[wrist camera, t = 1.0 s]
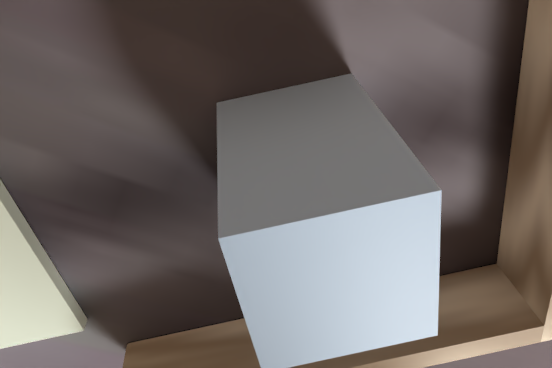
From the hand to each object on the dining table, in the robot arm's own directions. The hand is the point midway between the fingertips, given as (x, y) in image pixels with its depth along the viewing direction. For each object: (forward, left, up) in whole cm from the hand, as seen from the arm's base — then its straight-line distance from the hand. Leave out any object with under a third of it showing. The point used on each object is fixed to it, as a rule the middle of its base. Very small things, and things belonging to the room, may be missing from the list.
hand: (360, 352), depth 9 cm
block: (0, 0, -9) cm, 9 cm away
